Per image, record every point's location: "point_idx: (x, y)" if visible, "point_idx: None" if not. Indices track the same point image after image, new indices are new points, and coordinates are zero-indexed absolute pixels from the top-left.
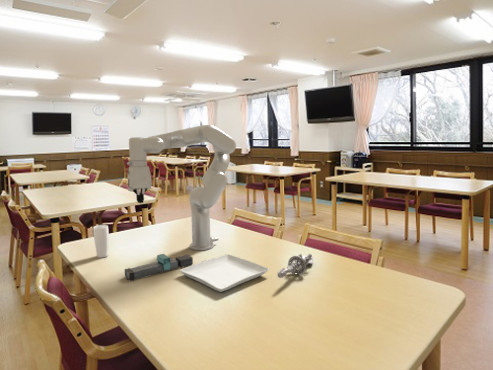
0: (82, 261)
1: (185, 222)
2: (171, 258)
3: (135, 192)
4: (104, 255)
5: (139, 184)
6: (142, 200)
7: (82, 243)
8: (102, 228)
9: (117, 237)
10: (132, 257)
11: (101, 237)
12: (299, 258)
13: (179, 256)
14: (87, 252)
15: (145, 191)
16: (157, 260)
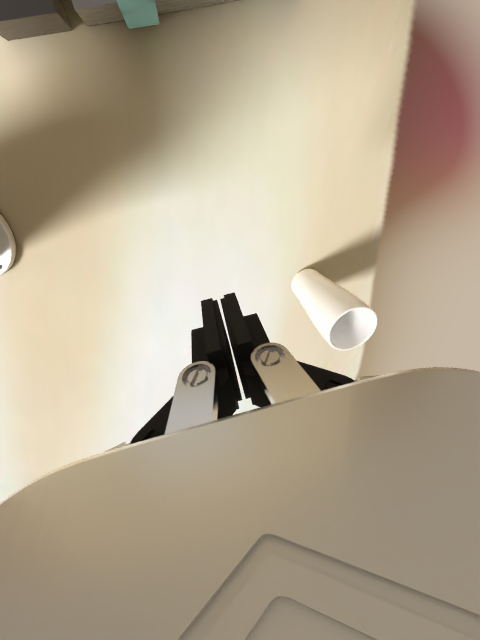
0: (356, 263)
1: None
2: (79, 6)
3: (317, 369)
4: (306, 270)
5: (348, 498)
6: (210, 308)
7: None
8: (354, 306)
9: (241, 404)
10: (234, 232)
11: (341, 290)
12: None
13: (32, 15)
14: None
15: (162, 411)
16: (156, 8)
